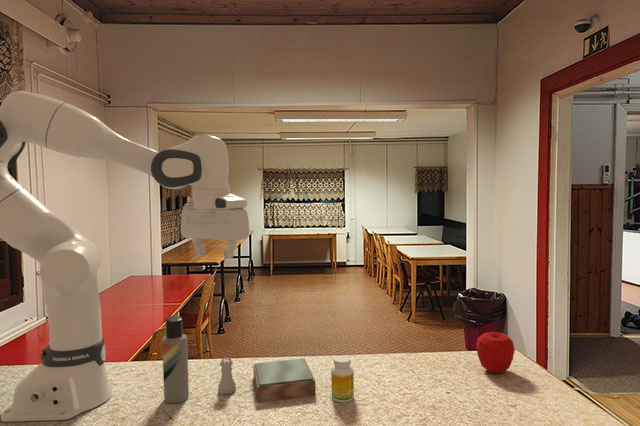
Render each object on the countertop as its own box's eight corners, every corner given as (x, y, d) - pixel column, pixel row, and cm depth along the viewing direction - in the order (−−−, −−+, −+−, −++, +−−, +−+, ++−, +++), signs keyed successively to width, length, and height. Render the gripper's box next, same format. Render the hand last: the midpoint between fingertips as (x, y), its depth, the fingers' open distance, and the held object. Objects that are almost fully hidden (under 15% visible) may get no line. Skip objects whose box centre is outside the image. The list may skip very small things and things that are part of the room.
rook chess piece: (228, 385, 112) (227, 354, 111) (240, 389, 109) (239, 358, 108) (214, 391, 108) (213, 360, 108) (225, 396, 105) (224, 364, 105)
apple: (485, 361, 124) (485, 323, 123) (519, 370, 117) (520, 330, 117) (469, 371, 117) (469, 332, 116) (505, 382, 110) (506, 340, 110)
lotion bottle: (182, 390, 109) (179, 312, 108) (193, 398, 105) (190, 316, 104) (160, 398, 105) (157, 317, 104) (170, 406, 101) (167, 322, 100)
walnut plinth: (257, 402, 102) (257, 385, 102) (253, 377, 116) (253, 362, 116) (315, 395, 105) (315, 379, 105) (304, 371, 119) (304, 357, 119)
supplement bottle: (330, 392, 106) (330, 354, 106) (352, 392, 106) (352, 354, 106) (332, 403, 101) (331, 363, 100) (355, 402, 101) (354, 362, 100)
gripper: (173, 202, 109) (175, 256, 110) (234, 201, 99) (236, 261, 100) (192, 201, 115) (194, 252, 116) (252, 200, 104) (254, 257, 105)
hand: (214, 256), depth 108 cm, fingers open, 8 cm apart
